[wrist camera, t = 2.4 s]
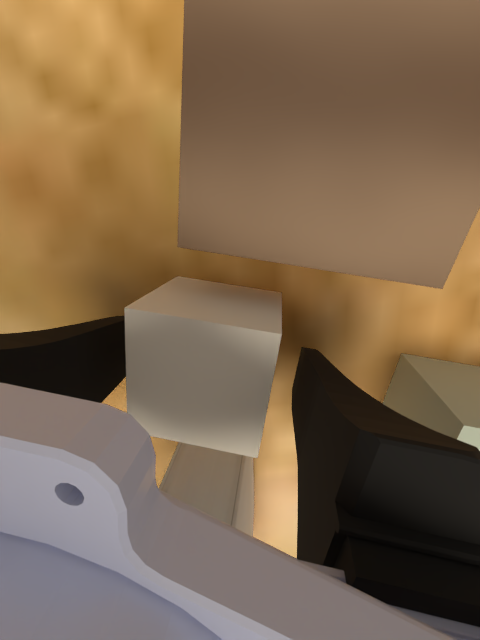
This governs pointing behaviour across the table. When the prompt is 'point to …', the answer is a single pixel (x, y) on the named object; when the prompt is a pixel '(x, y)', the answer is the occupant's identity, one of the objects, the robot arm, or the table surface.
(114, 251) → the table surface
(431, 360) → the sage cube
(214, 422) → the cream cube
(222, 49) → the walnut base
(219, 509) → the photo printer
